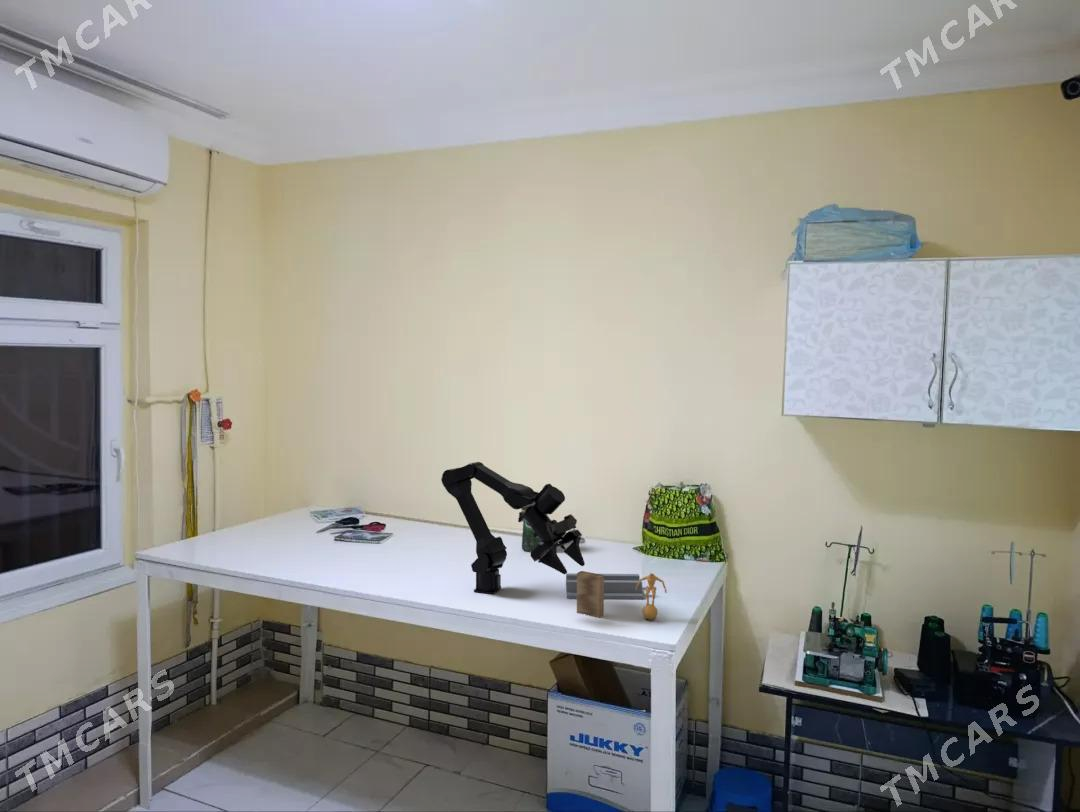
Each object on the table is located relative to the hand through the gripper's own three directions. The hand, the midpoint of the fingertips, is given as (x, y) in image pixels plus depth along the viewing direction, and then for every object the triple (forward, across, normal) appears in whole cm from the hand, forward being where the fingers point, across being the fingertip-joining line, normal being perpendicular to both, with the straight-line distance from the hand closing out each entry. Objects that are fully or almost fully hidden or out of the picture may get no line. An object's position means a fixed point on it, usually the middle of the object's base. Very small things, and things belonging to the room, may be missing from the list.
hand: (574, 569), depth 197 cm
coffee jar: (-24, +46, +40) cm, 65 cm away
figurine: (+22, +6, -6) cm, 24 cm away
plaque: (+12, 0, +5) cm, 13 cm away
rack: (+7, +19, +9) cm, 22 cm away
